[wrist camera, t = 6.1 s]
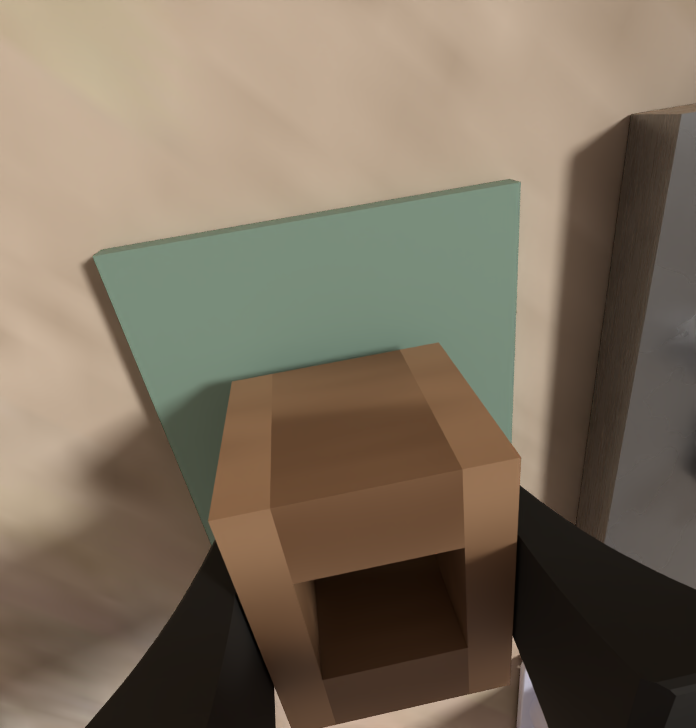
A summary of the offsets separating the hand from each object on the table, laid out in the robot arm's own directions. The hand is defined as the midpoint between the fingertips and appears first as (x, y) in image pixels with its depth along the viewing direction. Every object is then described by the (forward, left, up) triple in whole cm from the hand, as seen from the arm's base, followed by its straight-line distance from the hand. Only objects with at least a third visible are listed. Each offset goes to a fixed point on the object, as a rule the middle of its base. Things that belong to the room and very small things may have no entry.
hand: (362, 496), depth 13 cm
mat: (0, 0, -2) cm, 2 cm away
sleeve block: (0, 0, -1) cm, 1 cm away
